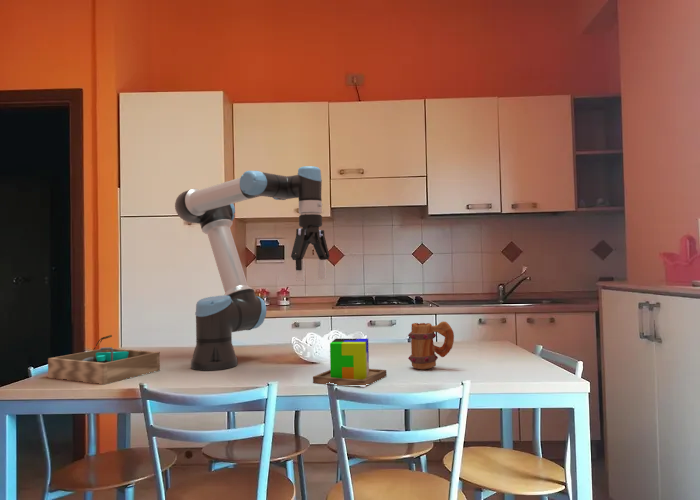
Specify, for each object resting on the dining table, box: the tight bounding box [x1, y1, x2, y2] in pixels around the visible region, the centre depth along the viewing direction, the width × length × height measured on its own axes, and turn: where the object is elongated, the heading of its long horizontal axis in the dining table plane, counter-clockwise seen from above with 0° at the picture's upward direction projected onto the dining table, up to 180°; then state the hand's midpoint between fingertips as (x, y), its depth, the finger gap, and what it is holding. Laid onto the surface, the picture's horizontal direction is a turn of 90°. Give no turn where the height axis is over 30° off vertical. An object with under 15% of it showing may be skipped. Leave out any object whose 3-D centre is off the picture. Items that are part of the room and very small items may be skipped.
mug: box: [407, 320, 455, 370], centre depth 170 cm, size 15×8×15 cm, turn 68°
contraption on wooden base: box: [82, 334, 129, 363], centre depth 172 cm, size 14×18×15 cm
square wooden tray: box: [312, 368, 387, 386], centre depth 157 cm, size 16×16×2 cm
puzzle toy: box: [329, 338, 370, 379], centre depth 157 cm, size 10×10×10 cm
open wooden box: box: [47, 348, 161, 385], centre depth 172 cm, size 25×21×6 cm
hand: (311, 280), depth 174 cm, fingers open, 13 cm apart
